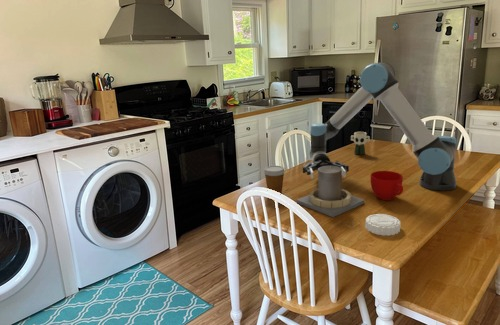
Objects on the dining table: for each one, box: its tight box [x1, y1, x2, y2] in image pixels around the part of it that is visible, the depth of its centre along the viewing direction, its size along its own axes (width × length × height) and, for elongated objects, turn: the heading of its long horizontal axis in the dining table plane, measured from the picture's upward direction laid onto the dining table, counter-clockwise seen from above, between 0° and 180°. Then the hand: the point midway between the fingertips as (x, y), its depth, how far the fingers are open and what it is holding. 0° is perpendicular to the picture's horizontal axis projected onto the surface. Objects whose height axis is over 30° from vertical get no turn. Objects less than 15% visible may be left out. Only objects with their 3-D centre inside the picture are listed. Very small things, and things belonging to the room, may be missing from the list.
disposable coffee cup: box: [263, 165, 286, 193], centre depth 174 cm, size 10×10×12 cm
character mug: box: [350, 131, 371, 155], centre depth 230 cm, size 11×7×13 cm, turn 66°
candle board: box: [295, 187, 365, 218], centre depth 161 cm, size 20×20×4 cm
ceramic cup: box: [370, 170, 404, 201], centre depth 161 cm, size 13×17×10 cm
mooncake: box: [364, 213, 401, 237], centre depth 137 cm, size 12×12×4 cm
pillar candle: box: [317, 166, 343, 201], centre depth 159 cm, size 10×10×15 cm
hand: (328, 175), depth 161 cm, fingers open, 13 cm apart
